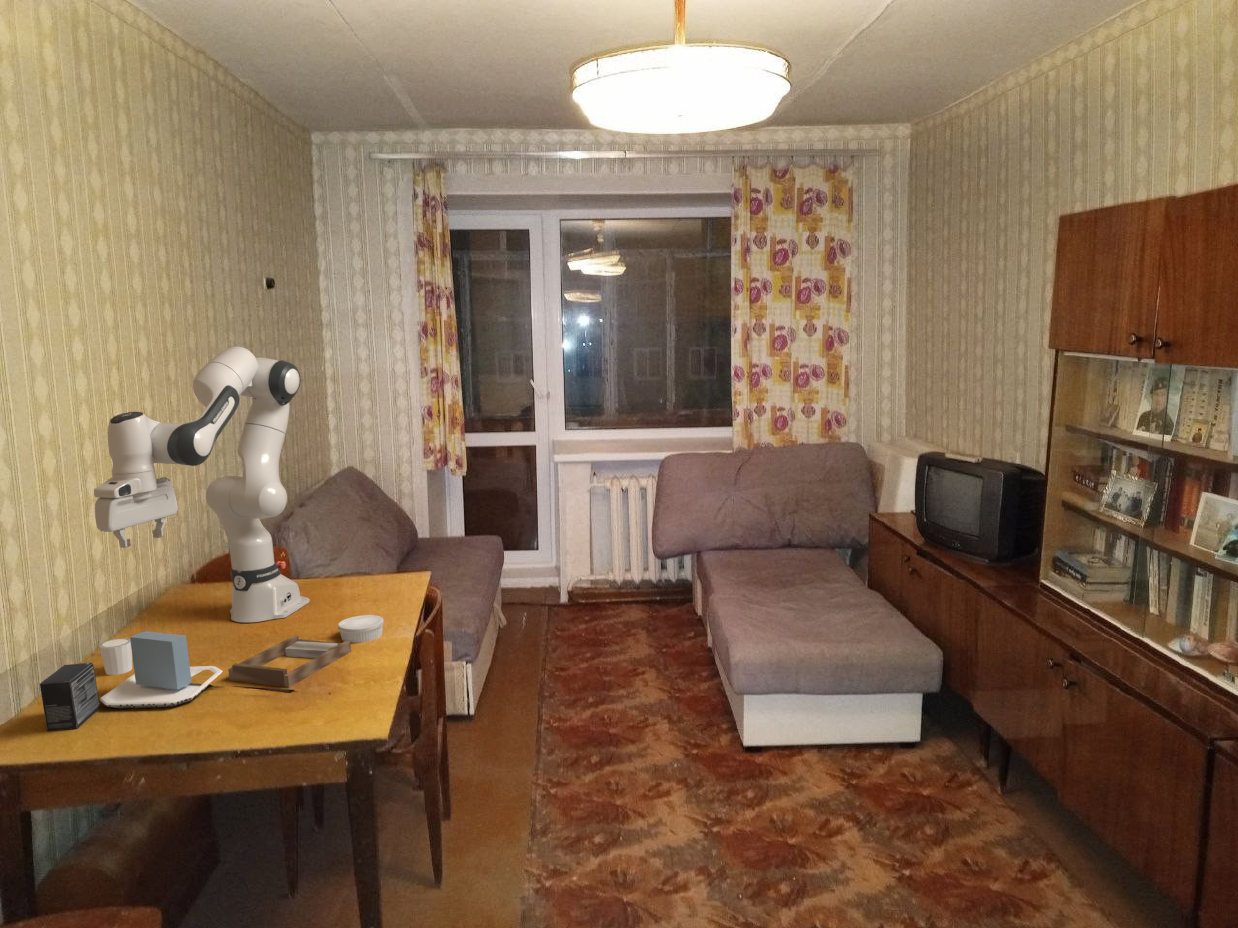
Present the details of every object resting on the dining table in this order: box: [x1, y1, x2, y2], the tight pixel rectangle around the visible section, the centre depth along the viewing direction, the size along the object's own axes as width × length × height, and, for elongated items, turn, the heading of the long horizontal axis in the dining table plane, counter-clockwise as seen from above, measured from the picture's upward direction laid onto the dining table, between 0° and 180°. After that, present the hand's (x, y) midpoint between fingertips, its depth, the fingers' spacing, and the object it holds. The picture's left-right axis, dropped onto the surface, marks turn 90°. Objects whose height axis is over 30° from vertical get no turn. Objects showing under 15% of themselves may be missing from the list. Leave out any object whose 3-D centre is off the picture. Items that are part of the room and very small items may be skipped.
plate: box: [99, 665, 223, 709], centre depth 209 cm, size 21×21×2 cm
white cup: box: [98, 637, 133, 676], centre depth 223 cm, size 7×7×7 cm
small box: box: [39, 662, 101, 732], centre depth 195 cm, size 11×6×10 cm, turn 5°
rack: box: [227, 635, 352, 694], centre depth 218 cm, size 23×16×5 cm
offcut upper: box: [285, 641, 338, 659], centre depth 225 cm, size 5×11×2 cm, turn 75°
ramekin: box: [337, 614, 385, 644], centre depth 237 cm, size 11×11×5 cm
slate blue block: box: [129, 631, 193, 690], centre depth 208 cm, size 4×12×11 cm, turn 70°
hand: (142, 542), depth 218 cm, fingers open, 8 cm apart
